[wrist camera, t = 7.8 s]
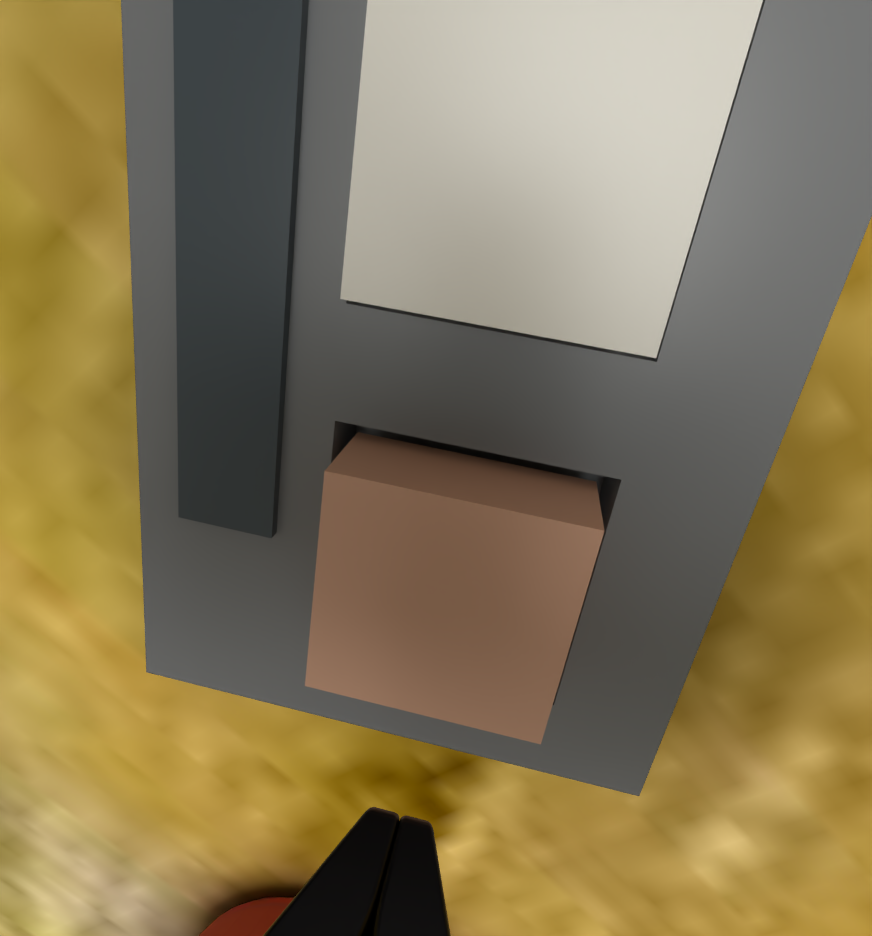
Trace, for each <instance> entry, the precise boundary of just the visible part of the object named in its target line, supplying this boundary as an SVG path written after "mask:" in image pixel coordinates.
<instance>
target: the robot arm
mask: <svg viewBox="0 0 872 936" xmlns="http://www.w3.org/2000/svg"><path fill="white" fill-rule="evenodd" d="M263 936H451V935H450V929H449V923H448V917H447V911H446V905H445V899H444V893H443V887H442V881H441V875H440V868H439V862H438V856H437V850H436V844H435V838H434V832H433V828H432V825H431V824H430V823H429V822H428V821H425V820H421V819H417V818H414V817H410V816H403V817H402V818H401V819H400V821H399V816H398V814H397V813H395V812H391V811H387V810H384V809H380V808H376V807H372V808H369V809H368V810H367V811H366V812H365V813H364V814H363V815H362V816H361V818H360V819H359V820H358V821H357V822H356V824H355V825H354V826H353V827H352V828H351V830H350V831H349V832H348V833H347V834H346V836H345V837H344V838H343V839H342V840H341V842H340V843H339V844H338V845H337V847H336V848H335V849H334V850H333V851H332V853H331V854H330V855H329V856H328V857H327V859H326V860H325V861H324V862H323V863H322V865H321V866H320V867H319V868H318V870H317V871H316V872H315V873H314V874H313V876H312V877H311V878H310V879H309V880H308V882H307V883H306V884H305V885H304V886H303V888H302V889H301V890H300V891H299V892H298V894H297V895H296V896H295V897H294V899H293V900H292V901H291V902H290V903H289V905H288V906H287V907H286V908H285V909H284V911H283V912H282V913H281V914H280V915H279V917H278V918H277V919H276V920H275V921H274V923H273V924H272V925H271V926H270V928H269V929H268V930H267V931H266V932H265V934H264V935H263Z"/></svg>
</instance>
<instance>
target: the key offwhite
mask: <svg viewBox="0 0 872 936" xmlns="http://www.w3.org/2000/svg"><path fill="white" fill-rule="evenodd" d="M762 2H763V0H367V11H366V22H365V33H364V44H363V55H362V66H361V77H360V88H359V99H358V110H357V121H356V132H355V143H354V154H353V165H352V175H351V186H350V197H349V208H348V219H347V230H346V241H345V252H344V263H343V274H342V285H341V296H340V299H344V300H349V301H354V302H360V303H365V304H370V305H376V306H381V307H386V308H392V309H397V310H402V311H407V312H413V313H418V314H423V315H429V316H434V317H439V318H445V319H450V320H455V321H461V322H466V323H471V324H477V325H482V326H487V327H493V328H498V329H503V330H509V331H514V332H519V333H525V334H530V335H535V336H541V337H546V338H551V339H557V340H562V341H567V342H572V343H578V344H583V345H588V346H594V347H599V348H604V349H610V350H615V351H620V352H626V353H631V354H636V355H642V356H647V357H652V358H656V357H657V354H658V350H659V347H660V343H661V340H662V337H663V333H664V330H665V327H666V323H667V320H668V317H669V313H670V310H671V307H672V303H673V300H674V297H675V293H676V290H677V287H678V283H679V280H680V277H681V273H682V270H683V266H684V263H685V260H686V256H687V253H688V250H689V246H690V243H691V240H692V236H693V233H694V230H695V226H696V223H697V220H698V216H699V213H700V210H701V206H702V203H703V199H704V196H705V193H706V189H707V186H708V183H709V179H710V176H711V173H712V169H713V166H714V163H715V159H716V156H717V153H718V149H719V146H720V143H721V139H722V136H723V133H724V129H725V126H726V122H727V119H728V116H729V112H730V109H731V106H732V102H733V99H734V96H735V92H736V89H737V86H738V82H739V79H740V76H741V72H742V69H743V66H744V62H745V59H746V55H747V52H748V49H749V45H750V42H751V39H752V35H753V32H754V29H755V25H756V22H757V19H758V15H759V12H760V9H761V5H762Z"/></svg>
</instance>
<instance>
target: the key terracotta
mask: <svg viewBox="0 0 872 936" xmlns="http://www.w3.org/2000/svg"><path fill="white" fill-rule="evenodd" d="M603 534H604V525H603V519H602V513H601V506H600V500H599V494H598V488H597V482H596V481H591V480H586V479H582V478H577V477H572V476H567V475H562V474H557V473H553V472H548V471H543V470H538V469H533V468H529V467H524V466H519V465H514V464H509V463H504V462H500V461H495V460H490V459H485V458H480V457H476V456H471V455H466V454H461V453H456V452H451V451H447V450H442V449H437V448H432V447H427V446H423V445H418V444H413V443H408V442H403V441H398V440H394V439H389V438H384V437H379V436H374V435H370V434H365V433H360V432H358V433H357V434H356V435H355V436H354V437H353V438H352V440H351V441H350V442H349V443H348V444H347V445H346V446H345V448H344V449H343V450H342V451H341V452H340V453H339V455H338V456H337V457H336V458H335V459H334V460H333V462H332V463H331V464H330V465H329V466H328V467H327V469H326V470H325V471H324V482H323V493H322V504H321V515H320V526H319V537H318V548H317V559H316V570H315V581H314V591H313V602H312V613H311V624H310V635H309V646H308V657H307V668H306V679H305V686H307V687H311V688H315V689H319V690H323V691H327V692H331V693H335V694H339V695H343V696H347V697H351V698H355V699H359V700H363V701H367V702H371V703H376V704H380V705H384V706H388V707H392V708H396V709H400V710H404V711H408V712H412V713H416V714H420V715H424V716H428V717H432V718H436V719H440V720H444V721H448V722H452V723H456V724H460V725H464V726H468V727H472V728H476V729H480V730H484V731H488V732H492V733H496V734H500V735H505V736H509V737H513V738H517V739H521V740H525V741H529V742H533V743H537V744H541V742H542V739H543V735H544V732H545V729H546V725H547V722H548V719H549V715H550V712H551V708H552V705H553V702H554V698H555V695H556V692H557V688H558V685H559V682H560V678H561V675H562V672H563V668H564V665H565V662H566V658H567V655H568V652H569V648H570V645H571V642H572V638H573V635H574V631H575V628H576V625H577V621H578V618H579V615H580V611H581V608H582V605H583V601H584V598H585V595H586V591H587V588H588V585H589V581H590V578H591V575H592V571H593V568H594V564H595V561H596V558H597V554H598V551H599V548H600V544H601V541H602V538H603Z"/></svg>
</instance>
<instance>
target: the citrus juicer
mask: <svg viewBox="0 0 872 936" xmlns="http://www.w3.org/2000/svg"><path fill="white" fill-rule="evenodd" d="M293 899H294V898H283V897H264V898H261V899H259V900H254V901H251V902H248V903H245V904H242V905H239V906H236V907H233V908H232V909H230V910H228V911H227V912H225V913H224V914H222V915H220V916H219V917H218V918H217V919H215V920H214V921H213V922H212V923H211V924H210V925H209V926H208V927H207V928H206V929H205V930H204V931H203V932H202V933H201V934H200V935H199V936H263V935H264V934H265V932H266V931H267V930H268V929H269V928H270V926H271V925H272V924H273V923H274V921H275V920H276V919H277V918H278V917H279V915H280V914H281V913H282V912H283V911H284V909H285V908H286V907H287V906H288V905H289V903H290V902H291V901H292V900H293Z"/></svg>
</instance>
